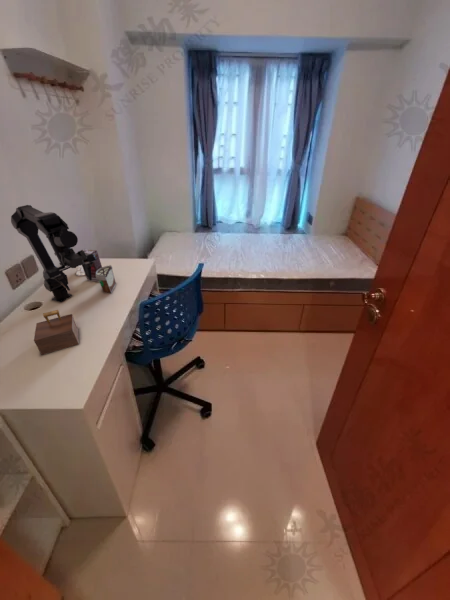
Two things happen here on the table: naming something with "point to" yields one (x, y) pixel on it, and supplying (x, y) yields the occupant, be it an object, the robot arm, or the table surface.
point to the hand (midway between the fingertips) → (80, 285)
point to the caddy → (58, 341)
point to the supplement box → (95, 265)
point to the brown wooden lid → (53, 326)
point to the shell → (80, 270)
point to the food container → (106, 278)
